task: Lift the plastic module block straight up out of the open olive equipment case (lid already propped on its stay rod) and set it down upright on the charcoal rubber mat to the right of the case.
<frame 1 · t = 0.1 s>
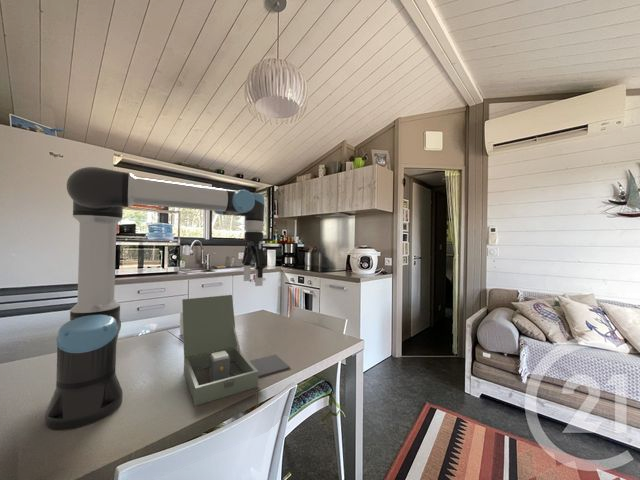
hand: (252, 283, 108), 28 cm above the table, fingers open, 13 cm apart
mug: (193, 333, 126), on the table
mat: (267, 365, 96), on the table
case: (219, 378, 86), on the table
module: (219, 366, 86), in the case
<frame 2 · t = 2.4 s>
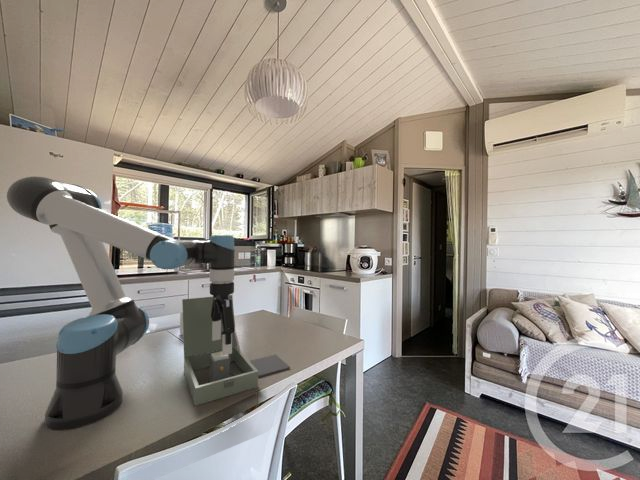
hand: (221, 346, 86), 11 cm above the table, fingers open, 13 cm apart
nothing on the table moved.
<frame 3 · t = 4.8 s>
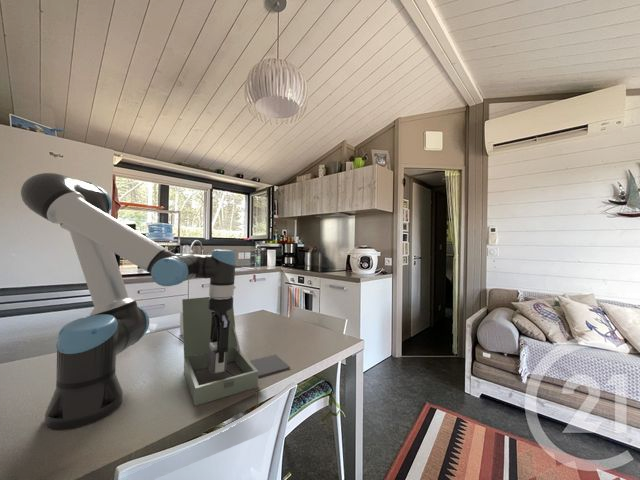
hand: (217, 367, 86), 4 cm above the table, fingers closed on module, 5 cm apart
module: (217, 356, 86), point 7 cm above the table, touching gripper
everything else where it was.
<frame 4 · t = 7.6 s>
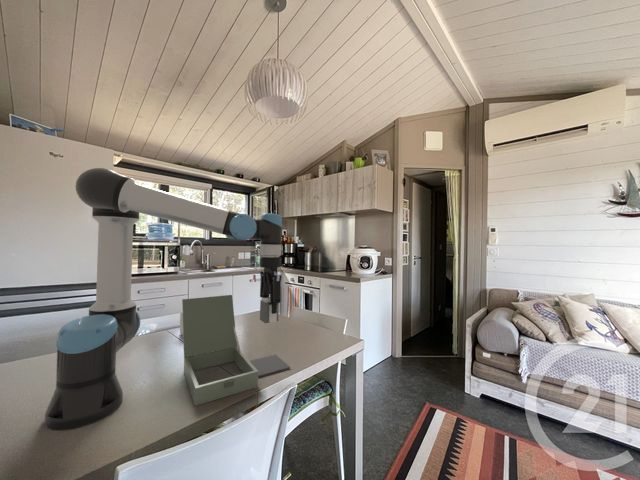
hand: (269, 319, 96), 17 cm above the table, fingers closed on module, 5 cm apart
module: (269, 309, 96), point 20 cm above the table, touching gripper
everything else where it was.
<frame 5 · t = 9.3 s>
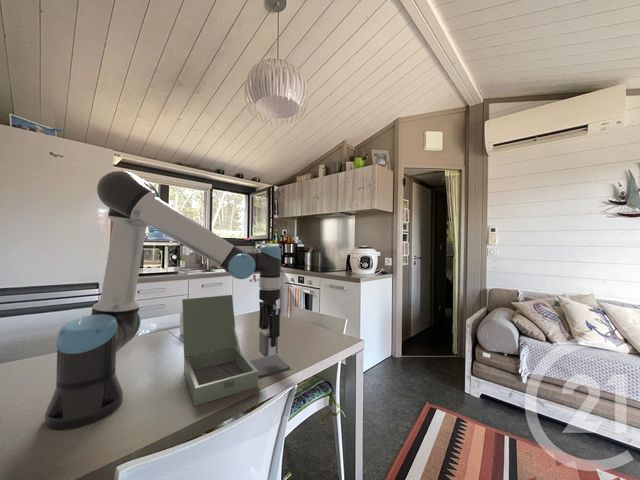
hand: (268, 351, 96), 5 cm above the table, fingers closed on module, 5 cm apart
module: (268, 341, 96), point 9 cm above the table, touching gripper
everything else where it was.
when the fingers open (2 cm above the table, at t = 10.5 s): module stays where it is, resting on mat.
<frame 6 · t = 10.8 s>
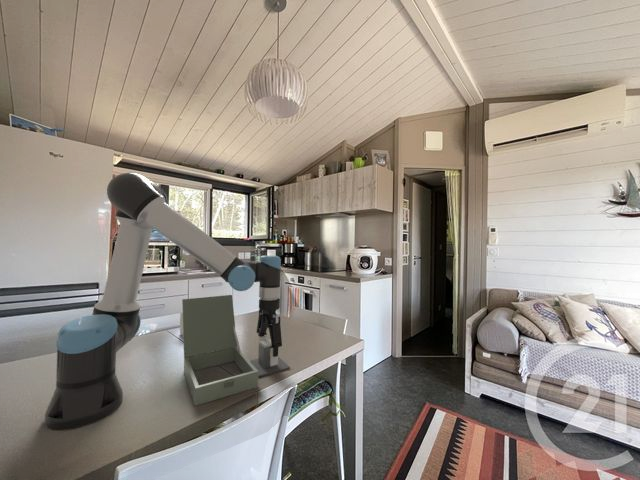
hand: (267, 359, 96), 2 cm above the table, fingers open, 10 cm apart
module: (267, 353, 96), on the mat, point 5 cm above the table
everything else where it was.
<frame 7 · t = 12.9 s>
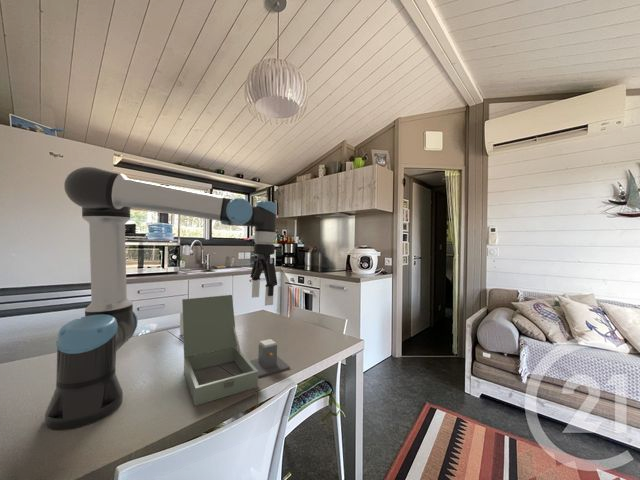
hand: (261, 300, 97), 23 cm above the table, fingers open, 13 cm apart
nothing on the table moved.
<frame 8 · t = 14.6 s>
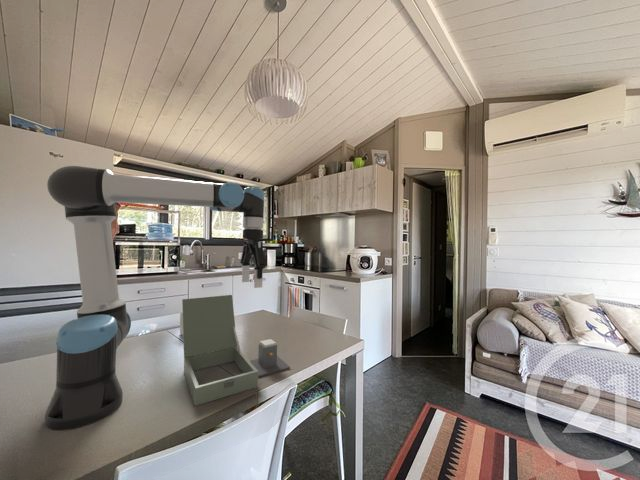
hand: (251, 284, 100), 29 cm above the table, fingers open, 13 cm apart
nothing on the table moved.
at the end: module inside the target area on the mat (0.3 cm from its centre), point 4.6 cm above the mat's base; module tilted 0°; the gripper is holding nothing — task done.
